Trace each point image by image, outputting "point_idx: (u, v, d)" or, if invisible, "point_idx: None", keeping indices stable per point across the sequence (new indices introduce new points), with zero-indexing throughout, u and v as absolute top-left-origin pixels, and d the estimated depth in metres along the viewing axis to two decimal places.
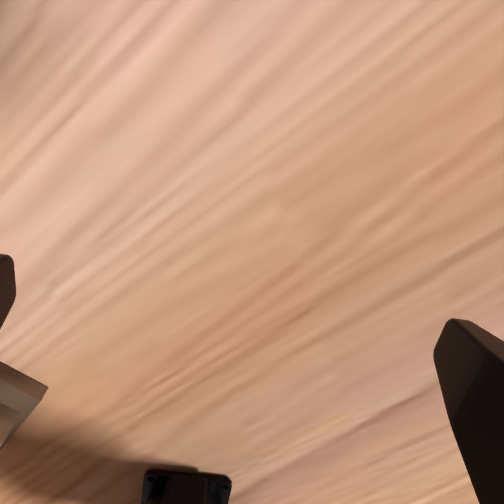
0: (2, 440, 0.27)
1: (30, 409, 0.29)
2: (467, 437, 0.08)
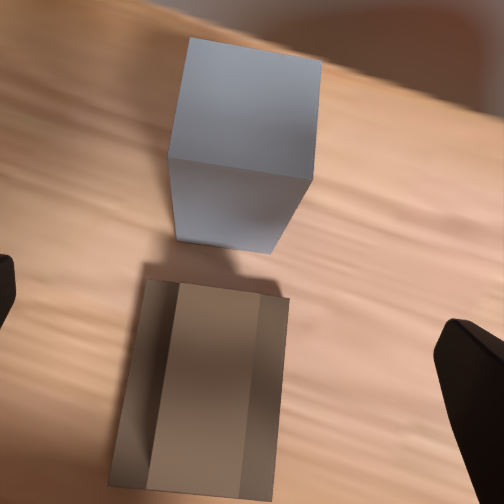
0: None
1: (247, 495, 0.19)
2: (467, 437, 0.08)
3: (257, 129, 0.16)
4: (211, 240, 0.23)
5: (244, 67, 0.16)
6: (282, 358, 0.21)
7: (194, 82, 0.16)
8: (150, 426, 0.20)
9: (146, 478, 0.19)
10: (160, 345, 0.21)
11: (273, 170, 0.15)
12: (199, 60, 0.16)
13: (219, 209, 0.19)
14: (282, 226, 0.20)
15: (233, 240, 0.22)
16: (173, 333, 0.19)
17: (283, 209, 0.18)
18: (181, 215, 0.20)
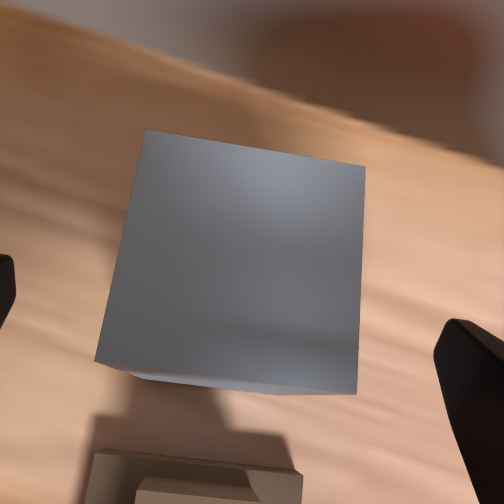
0: None
1: None
2: (467, 437, 0.08)
3: (259, 297, 0.09)
4: (191, 384, 0.16)
5: (237, 181, 0.10)
6: None
7: (151, 212, 0.09)
8: None
9: None
10: None
11: (287, 378, 0.09)
12: (160, 171, 0.10)
13: (198, 381, 0.12)
14: (295, 394, 0.13)
15: None
16: None
17: (298, 392, 0.11)
18: None
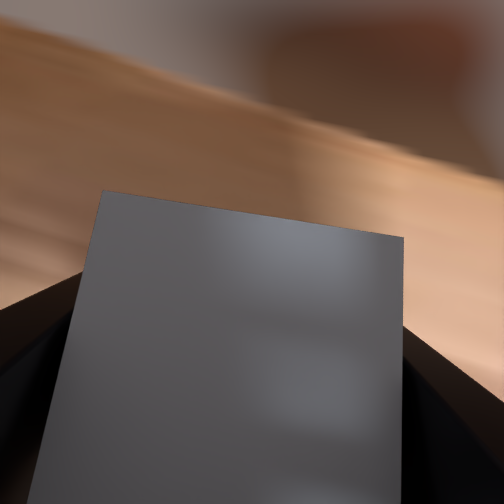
0: None
1: None
2: None
3: (259, 438, 0.06)
4: None
5: (228, 263, 0.07)
6: None
7: (106, 313, 0.07)
8: None
9: None
10: None
11: None
12: (121, 251, 0.07)
13: None
14: None
15: None
16: None
17: None
18: None
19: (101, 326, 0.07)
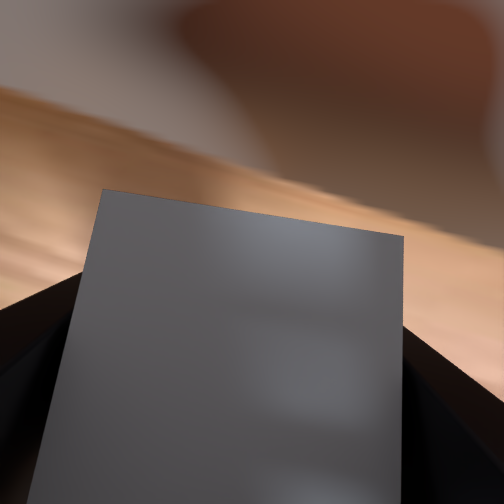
0: None
1: None
2: None
3: (259, 436, 0.06)
4: None
5: (228, 262, 0.07)
6: None
7: (106, 311, 0.07)
8: None
9: None
10: None
11: None
12: (121, 249, 0.07)
13: None
14: None
15: None
16: None
17: None
18: None
19: (101, 325, 0.07)
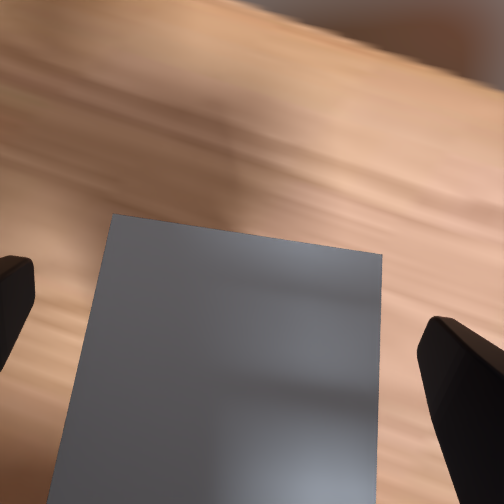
0: None
1: None
2: (448, 435, 0.08)
3: (252, 434, 0.07)
4: None
5: (225, 279, 0.08)
6: None
7: (117, 323, 0.07)
8: None
9: None
10: None
11: None
12: (130, 268, 0.08)
13: None
14: None
15: None
16: None
17: None
18: None
19: (112, 335, 0.07)
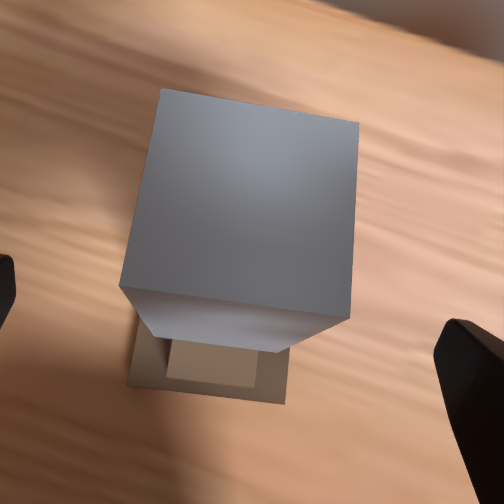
0: None
1: (261, 397, 0.20)
2: (467, 437, 0.08)
3: (263, 234, 0.10)
4: (199, 340, 0.17)
5: (243, 134, 0.11)
6: None
7: (166, 159, 0.10)
8: None
9: (164, 379, 0.20)
10: None
11: (288, 303, 0.10)
12: (174, 124, 0.11)
13: (207, 325, 0.13)
14: (295, 340, 0.14)
15: (228, 342, 0.17)
16: None
17: (298, 331, 0.12)
18: (155, 324, 0.14)
19: (164, 167, 0.10)
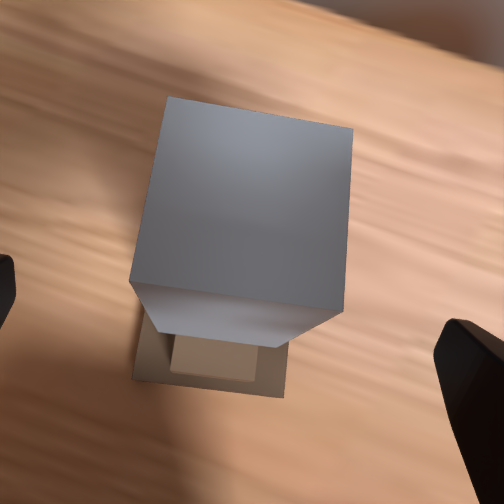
0: (254, 378, 0.19)
1: (260, 391, 0.21)
2: (467, 437, 0.08)
3: (263, 233, 0.11)
4: (201, 335, 0.18)
5: (244, 139, 0.12)
6: None
7: (172, 164, 0.11)
8: None
9: (167, 373, 0.20)
10: None
11: (286, 297, 0.10)
12: (180, 130, 0.11)
13: (209, 319, 0.14)
14: (293, 334, 0.15)
15: (229, 337, 0.18)
16: None
17: (296, 325, 0.13)
18: (160, 319, 0.15)
19: (170, 170, 0.11)
